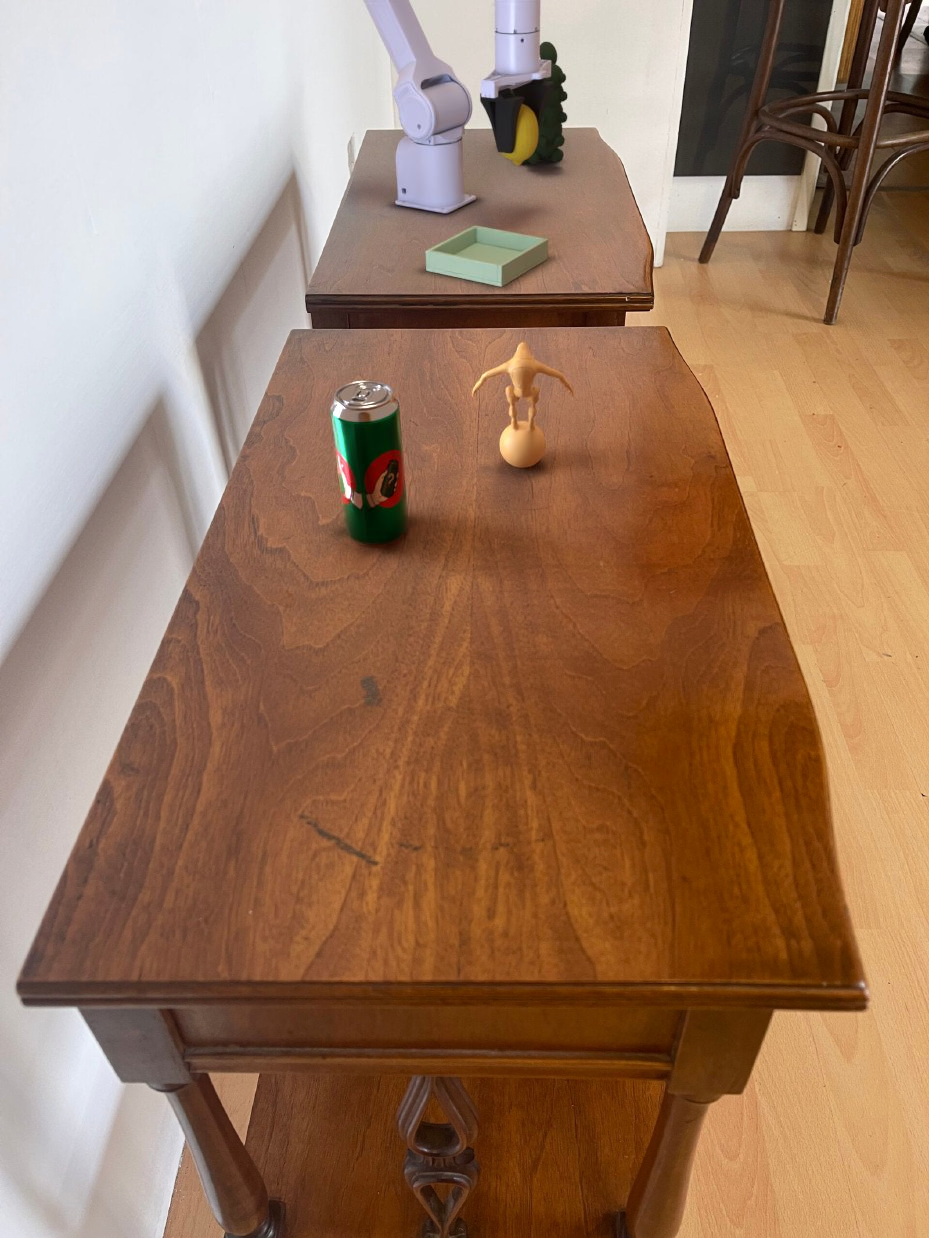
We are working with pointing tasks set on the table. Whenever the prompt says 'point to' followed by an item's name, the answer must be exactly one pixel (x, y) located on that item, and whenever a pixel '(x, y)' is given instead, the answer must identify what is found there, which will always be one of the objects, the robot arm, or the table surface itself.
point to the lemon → (524, 136)
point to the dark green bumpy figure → (551, 113)
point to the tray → (487, 255)
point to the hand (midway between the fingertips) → (517, 147)
